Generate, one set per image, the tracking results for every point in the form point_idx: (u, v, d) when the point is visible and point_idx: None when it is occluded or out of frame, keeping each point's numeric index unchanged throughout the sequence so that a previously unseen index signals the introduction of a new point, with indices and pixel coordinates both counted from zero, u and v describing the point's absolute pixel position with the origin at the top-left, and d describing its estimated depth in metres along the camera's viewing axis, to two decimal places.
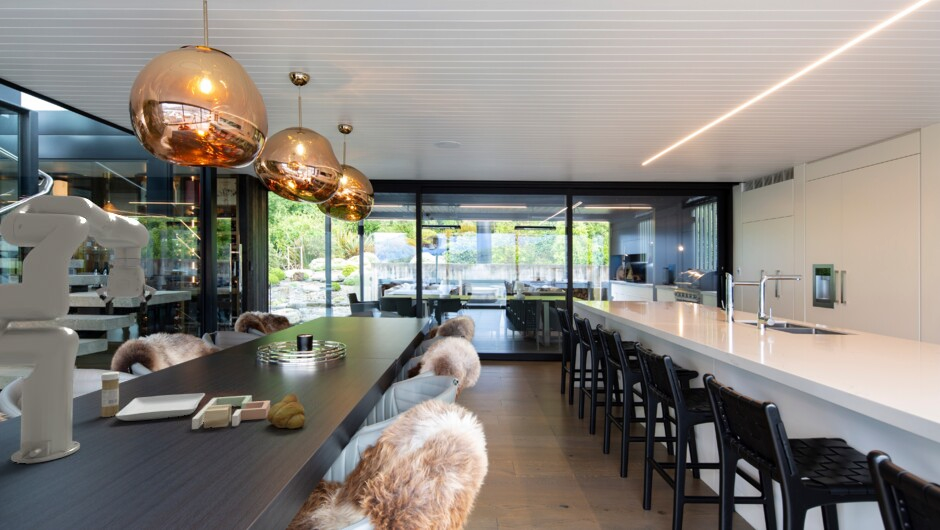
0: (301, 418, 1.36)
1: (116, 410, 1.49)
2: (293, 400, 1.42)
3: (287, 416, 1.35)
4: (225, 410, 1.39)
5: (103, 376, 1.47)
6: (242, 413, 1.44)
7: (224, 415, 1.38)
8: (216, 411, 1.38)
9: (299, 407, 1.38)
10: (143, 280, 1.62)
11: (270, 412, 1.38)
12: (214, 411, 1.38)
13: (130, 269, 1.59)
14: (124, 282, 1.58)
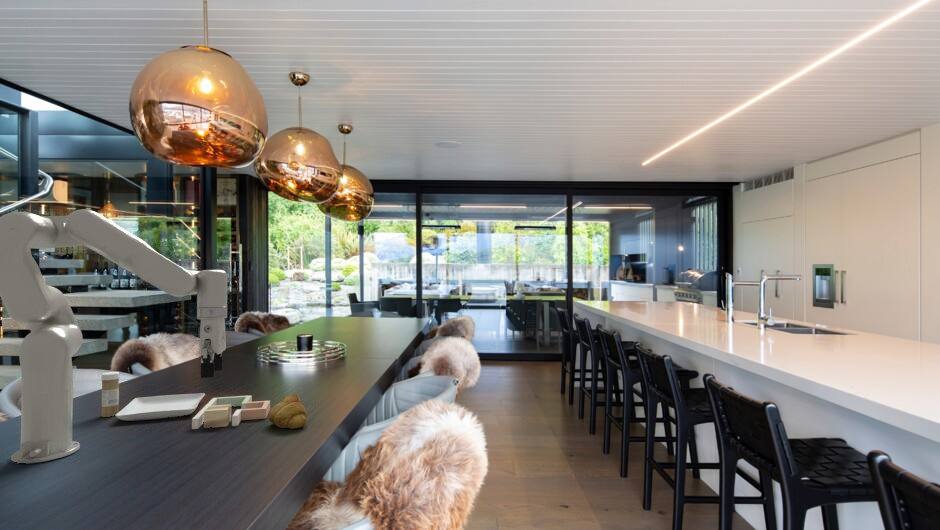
0: (302, 418, 1.36)
1: (116, 410, 1.49)
2: (294, 400, 1.42)
3: (288, 416, 1.35)
4: (225, 410, 1.39)
5: (103, 376, 1.47)
6: (242, 413, 1.44)
7: (224, 415, 1.38)
8: (216, 411, 1.38)
9: (300, 407, 1.38)
10: None
11: (271, 412, 1.38)
12: (214, 411, 1.38)
13: (223, 319, 1.36)
14: (223, 334, 1.35)
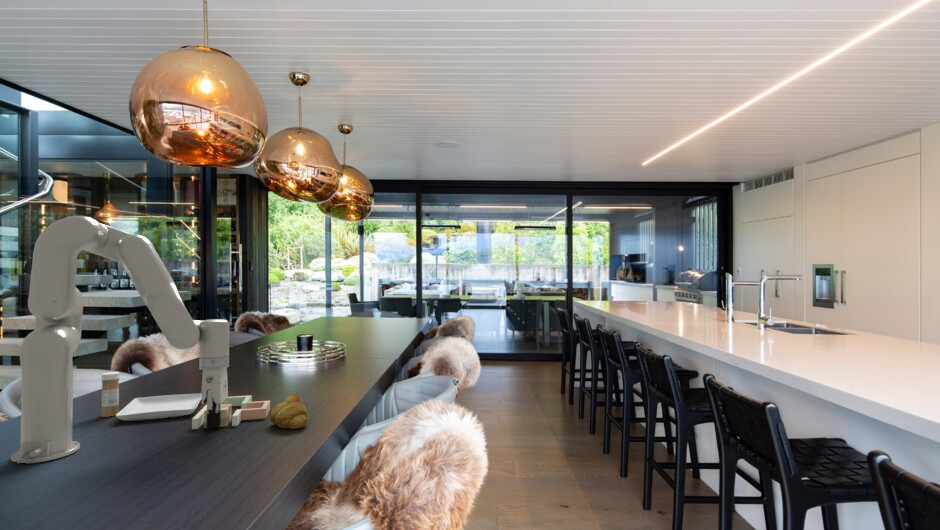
0: (303, 418, 1.36)
1: (116, 410, 1.49)
2: (296, 400, 1.42)
3: (289, 417, 1.35)
4: (225, 410, 1.39)
5: (103, 376, 1.47)
6: (242, 413, 1.44)
7: (224, 415, 1.38)
8: None
9: (301, 407, 1.38)
10: None
11: (272, 412, 1.38)
12: None
13: None
14: (224, 383, 1.37)
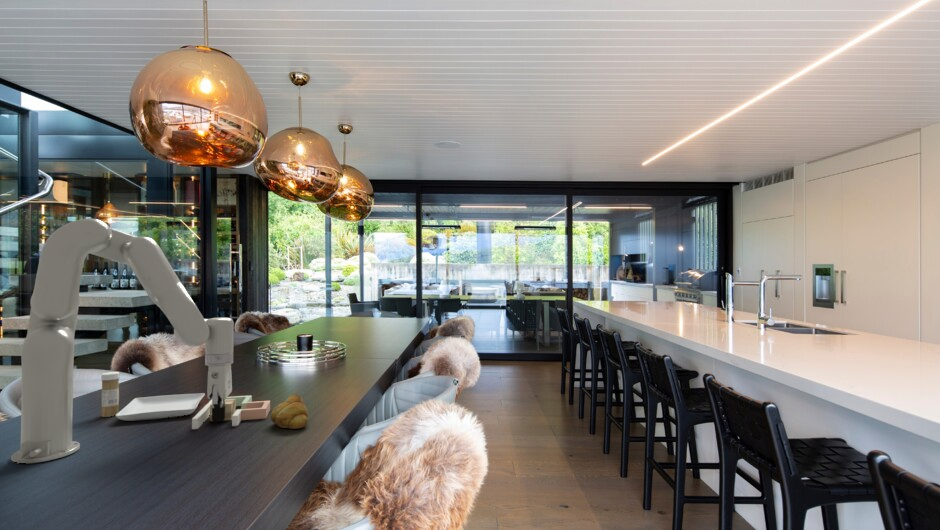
0: (303, 418, 1.36)
1: (116, 410, 1.49)
2: (296, 400, 1.42)
3: (289, 417, 1.35)
4: (230, 404, 1.45)
5: (103, 376, 1.47)
6: (242, 413, 1.44)
7: (229, 408, 1.44)
8: None
9: (301, 407, 1.38)
10: None
11: (273, 412, 1.38)
12: None
13: (230, 363, 1.44)
14: (229, 379, 1.42)
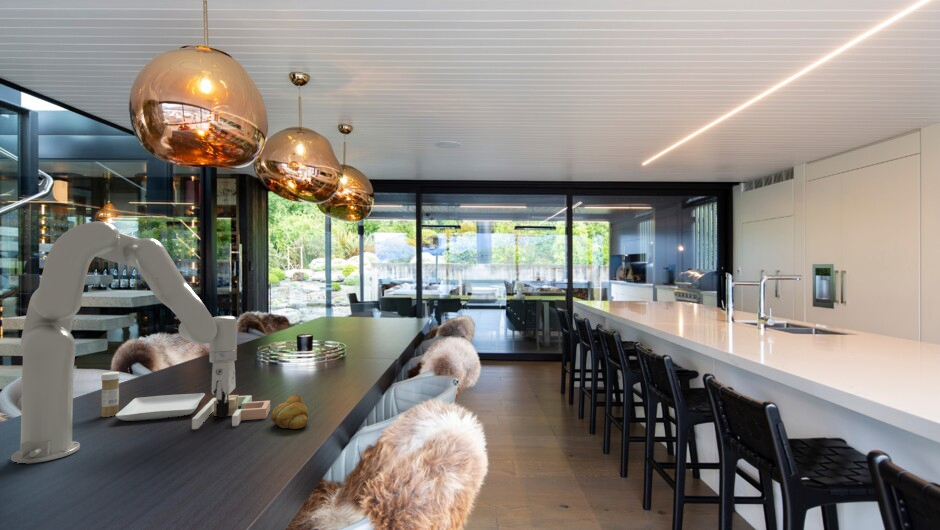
0: (303, 419, 1.36)
1: (116, 410, 1.49)
2: (297, 400, 1.42)
3: (289, 417, 1.35)
4: (233, 400, 1.49)
5: (103, 376, 1.47)
6: (242, 413, 1.44)
7: (232, 404, 1.49)
8: None
9: (302, 407, 1.38)
10: None
11: (273, 412, 1.38)
12: None
13: (233, 360, 1.49)
14: (232, 375, 1.47)
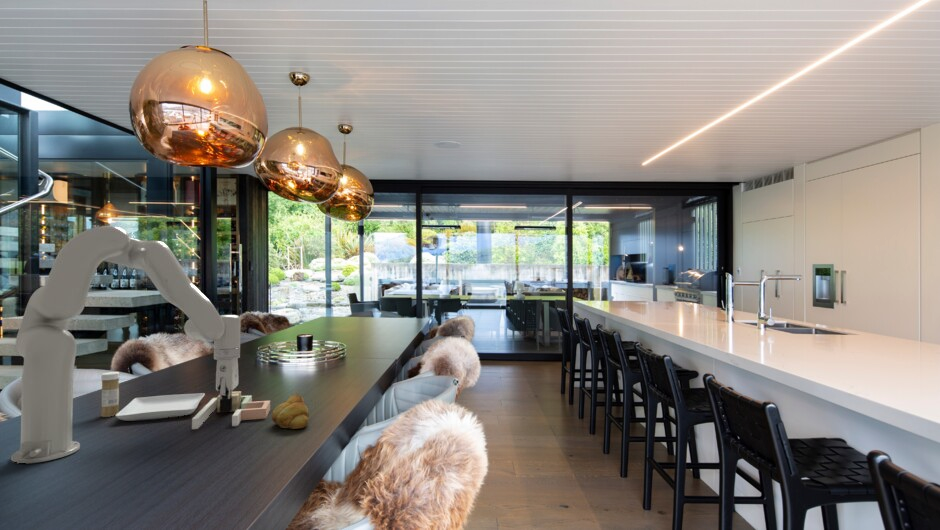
0: (304, 419, 1.35)
1: (116, 410, 1.49)
2: (297, 400, 1.42)
3: (290, 417, 1.35)
4: (236, 396, 1.54)
5: (103, 376, 1.47)
6: (242, 413, 1.44)
7: (235, 400, 1.54)
8: None
9: (302, 407, 1.38)
10: None
11: (274, 412, 1.38)
12: None
13: (237, 358, 1.54)
14: (236, 372, 1.52)
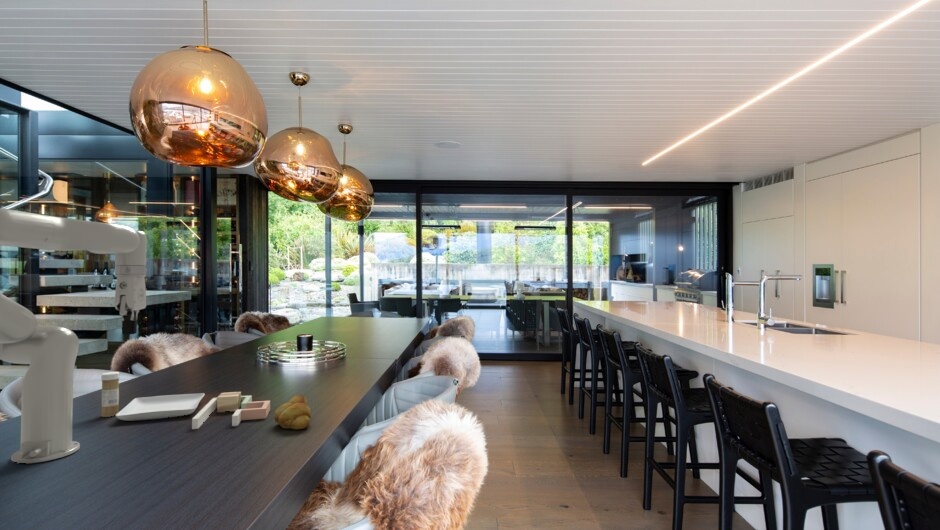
0: (305, 419, 1.35)
1: (116, 410, 1.49)
2: (300, 401, 1.41)
3: (291, 417, 1.34)
4: (236, 396, 1.54)
5: (103, 376, 1.47)
6: (242, 413, 1.44)
7: (235, 400, 1.54)
8: (228, 397, 1.54)
9: (304, 408, 1.37)
10: None
11: (276, 412, 1.38)
12: (226, 397, 1.53)
13: (143, 278, 1.42)
14: (141, 292, 1.40)
